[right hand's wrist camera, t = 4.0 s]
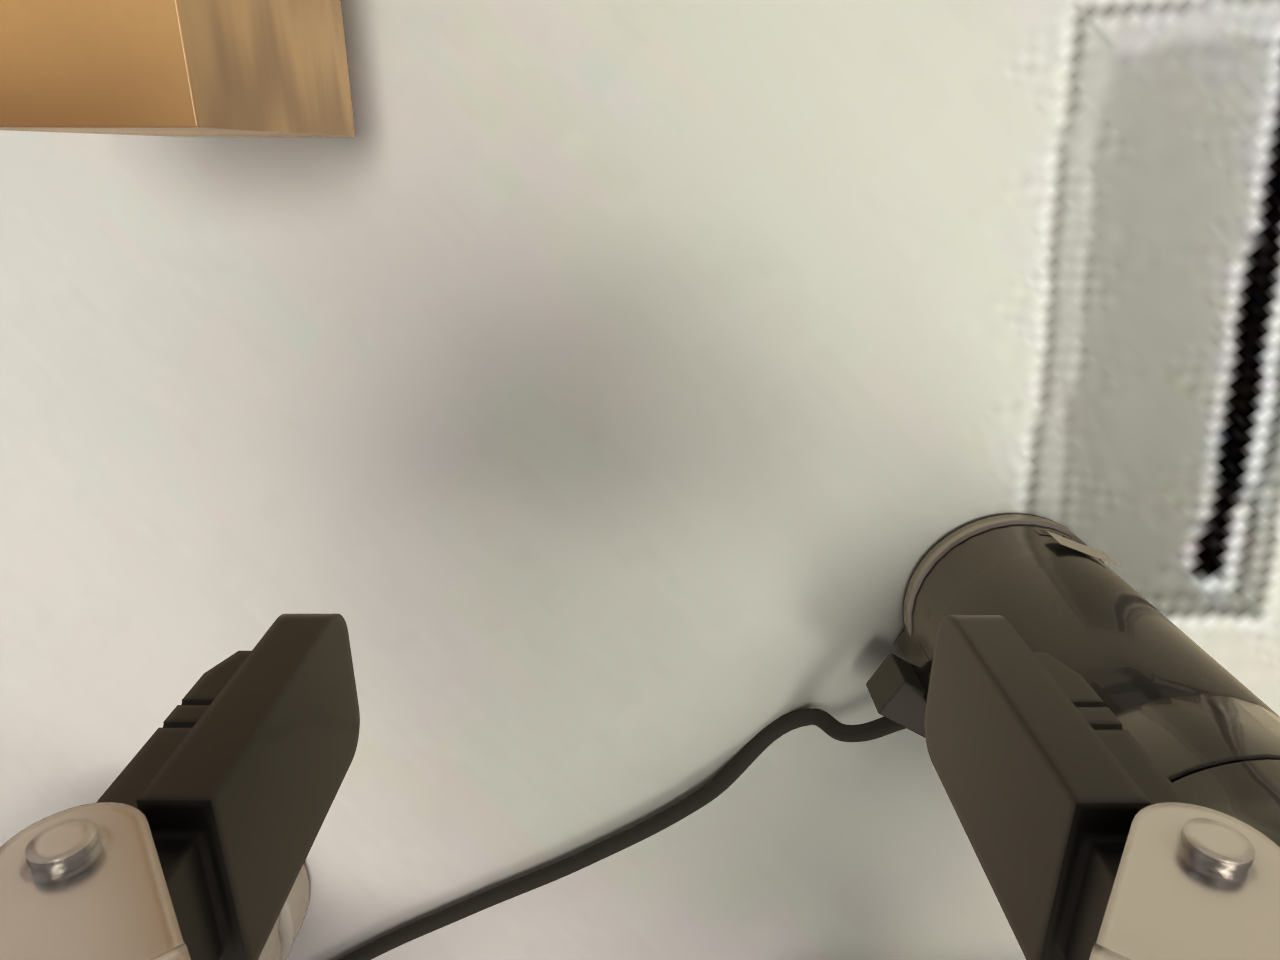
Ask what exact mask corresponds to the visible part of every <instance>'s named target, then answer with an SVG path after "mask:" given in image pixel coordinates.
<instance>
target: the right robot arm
mask: <svg viewBox="0 0 1280 960" xmlns="http://www.w3.org/2000/svg"><path fill="white" fill-rule="evenodd" d="M1101 559H1102V560H1104V561H1107V562H1110V563H1112V564H1115V565H1118V564H1117V563H1116V562H1115V561H1113V560H1112V559H1111V558H1110V557H1109V556H1108V555H1106V554H1105V553H1104V552H1101V551H1099V550H1096V549H1094V548H1091V547H1088V546H1087V545H1086V544H1085V543H1084V542H1082V541H1081V540H1080V539H1079V538H1078V537H1077V536H1075V535H1074V534H1073V533H1072V532H1071V531H1069V530H1068V529H1066V528H1065V527H1063V526H1061V525H1059V524H1058V523H1056V522H1053V521H1051V520H1048V519H1045V518H1041V517H1037V516H1032V515H1022V514H1008V515H999V516H993V517H989V518H985V519H981V520H978V521H976V522H973V523H970V524H968V525H966V526H964V527H962V528H960V529H958V530H956V531H955V532H953V533H951V534H950V535H948V536H947V537H946V538H944V539H943V540H942V541H940V542H939V543H938V544H937V545H936V546H935V547H934V548H933V549H932V550H931V551H930V552H929V553H928V554H927V555H926V556H925V557H924V559H923V560H922V561H921V563H920V564H919V565H918V567H917V569H916V570H915V572H914V574H913V576H912V578H911V580H910V582H909V585H908V588H907V591H906V596H905V601H904V624H905V628H904V630H903V632H902V634H901V635H900V636H899V638H898V639H897V640H896V642H895V646H896V648H897V650H898V651H899V653H900V655H901V657H902V659H901V658H899V657H897V656H895V655H893V654H889V656H888V657H887V658H886V659H885V661H884V662H883V663H882V664H881V666H880V667H879V668H878V669H877V671H876V672H875V673H874V674H873V676H872V677H871V678H870V679H869V681H868V682H867V683H866V685H867V688H868V690H869V692H870V694H871V697H872V699H873V701H874V704H875V706H876V708H877V711H878V713H879V714H881V715H882V716H884V717H882V718H879V719H877V720H874V721H871V722H868V723H864V724H859V725H845V724H842V723H840V722H838V721H837V720H836V719H835V718H833V717H832V716H831V715H830V714H828V713H827V712H825V711H823V710H820V709H816V708H812V709H804V710H799V711H794V712H792V713H789V714H786V715H784V716H782V717H780V718H778V719H777V720H775V721H774V722H772V723H771V724H770V725H768V726H767V727H766V728H764V729H763V730H762V731H761V732H760V733H759V734H757V735H756V736H755V737H754V738H753V739H752V740H751V741H750V742H749V743H748V744H747V745H746V746H745V747H744V748H743V749H742V750H741V751H740V752H739V753H738V754H737V755H736V757H735V758H734V759H733V760H732V761H731V762H730V763H729V764H728V765H727V766H726V767H725V768H724V769H723V770H722V771H721V772H720V773H719V774H718V775H717V776H716V777H715V778H713V779H712V780H711V781H710V782H709V783H707V784H706V785H705V786H703V787H702V788H700V789H699V790H698V791H696V792H694V793H693V794H691V795H690V796H688V797H686V798H685V799H683V800H681V801H680V802H678V803H676V804H675V805H673V806H671V807H669V808H668V809H666V810H664V811H662V812H660V813H659V814H657V815H655V816H653V817H651V818H649V819H647V820H645V821H643V822H642V823H640V824H638V825H636V826H634V827H632V828H630V829H627V830H625V831H623V832H621V833H619V834H617V835H615V836H613V837H611V838H609V839H607V840H604V841H602V842H600V843H598V844H596V845H594V846H592V847H590V848H587V849H585V850H583V851H581V852H579V853H577V854H575V855H572V856H570V857H568V858H566V859H564V860H561V861H559V862H557V863H554V864H552V865H550V866H547V867H545V868H543V869H540V870H538V871H535V872H533V873H531V874H528V875H526V876H523V877H521V878H518V879H516V880H513V881H511V882H508V883H506V884H503V885H501V886H498V887H496V888H494V889H491V890H489V891H486V892H484V893H482V894H479V895H477V896H475V897H472V898H470V899H468V900H465V901H463V902H461V903H458V904H456V905H454V906H452V907H449V908H447V909H445V910H442V911H440V912H437V913H435V914H433V915H430V916H428V917H426V918H423V919H421V920H419V921H416V922H414V923H412V924H410V925H407V926H405V927H403V928H401V929H398V930H396V931H394V932H392V933H390V934H388V935H386V936H384V937H381V938H379V939H377V940H375V941H373V942H371V943H369V944H367V945H365V946H364V947H362V948H360V949H358V950H356V951H354V952H352V953H350V954H349V955H347V956H345V957H343V958H341V959H340V960H371V959H373V958H375V957H377V956H379V955H381V954H383V953H385V952H387V951H389V950H391V949H394V948H396V947H398V946H400V945H402V944H404V943H407V942H409V941H411V940H413V939H416V938H418V937H420V936H423V935H425V934H427V933H430V932H432V931H434V930H437V929H439V928H442V927H444V926H446V925H449V924H451V923H453V922H456V921H458V920H460V919H463V918H465V917H467V916H470V915H472V914H474V913H477V912H479V911H481V910H484V909H486V908H488V907H491V906H493V905H496V904H498V903H501V902H503V901H505V900H508V899H510V898H513V897H515V896H518V895H520V894H523V893H525V892H528V891H530V890H533V889H535V888H538V887H540V886H543V885H545V884H548V883H550V882H553V881H555V880H557V879H560V878H562V877H564V876H567V875H569V874H571V873H573V872H576V871H578V870H580V869H582V868H584V867H587V866H589V865H591V864H593V863H595V862H597V861H599V860H602V859H604V858H606V857H608V856H610V855H612V854H614V853H617V852H619V851H621V850H623V849H625V848H627V847H629V846H631V845H633V844H635V843H638V842H640V841H642V840H644V839H646V838H648V837H650V836H652V835H654V834H656V833H657V832H659V831H661V830H663V829H665V828H667V827H669V826H670V825H672V824H674V823H676V822H678V821H679V820H681V819H683V818H685V817H686V816H688V815H690V814H691V813H693V812H695V811H696V810H698V809H700V808H701V807H703V806H705V805H706V804H708V803H709V802H710V801H712V800H713V799H715V798H716V797H718V796H719V795H720V794H721V793H722V792H724V791H725V790H726V789H727V788H728V787H729V786H730V785H731V784H732V783H733V782H734V781H735V780H736V779H737V778H738V777H739V776H740V775H741V774H742V773H743V772H744V771H745V770H746V769H747V768H748V767H749V766H750V765H751V763H752V762H753V761H754V760H755V759H756V758H757V757H758V756H759V755H760V754H761V753H762V752H763V751H764V750H765V749H766V748H767V747H768V746H769V745H770V744H771V743H773V742H774V741H775V740H776V739H778V738H779V737H781V736H782V735H783V734H785V733H787V732H789V731H791V730H793V729H796V728H799V727H802V726H807V725H816V726H818V727H819V728H821V729H822V730H823V731H824V732H825V733H827V734H828V735H829V736H831V737H832V738H834V739H836V740H839V741H843V742H862V741H868V740H873V739H877V738H880V737H883V736H885V735H888V734H891V733H894V732H896V731H899V730H902V729H906V728H908V729H910V730H911V731H913V732H915V733H917V734H919V735H921V736H923V737H925V738H926V743H927V748H928V752H929V755H930V758H931V761H932V763H933V765H934V767H935V769H936V771H937V773H938V776H939V778H940V780H941V782H942V784H943V786H944V788H945V790H946V792H947V794H948V796H949V799H950V801H951V803H952V805H953V807H954V809H955V811H956V813H957V815H958V817H959V819H960V822H961V824H962V826H963V828H964V830H965V832H966V834H967V836H968V838H969V840H970V842H971V845H972V847H973V849H974V851H975V853H976V855H977V857H978V859H979V861H980V863H981V865H982V868H983V870H984V872H985V874H986V876H987V878H988V880H989V882H990V884H991V886H992V888H993V891H994V893H995V895H996V897H997V899H998V901H999V903H1000V905H1001V907H1002V909H1003V911H1004V914H1005V916H1006V918H1007V920H1008V922H1009V924H1010V926H1011V928H1012V930H1013V932H1014V934H1015V937H1016V939H1017V941H1018V943H1019V945H1020V947H1021V949H1022V951H1023V953H1024V955H1025V957H1026V960H1280V717H1279V716H1278V715H1277V714H1276V713H1275V712H1274V711H1272V710H1271V709H1270V708H1269V707H1268V706H1267V705H1266V704H1264V703H1263V702H1262V701H1261V700H1260V699H1259V698H1258V697H1256V696H1255V695H1254V694H1253V693H1252V692H1251V691H1250V690H1248V689H1247V688H1246V687H1245V686H1244V685H1243V684H1241V683H1240V682H1239V681H1238V680H1237V679H1236V678H1235V677H1233V676H1232V675H1231V674H1230V673H1229V672H1228V671H1227V670H1225V669H1224V668H1223V667H1222V666H1221V665H1220V664H1219V663H1217V662H1216V661H1215V660H1214V659H1213V658H1212V657H1211V656H1209V655H1208V654H1207V653H1206V652H1205V651H1204V650H1203V649H1201V648H1200V647H1199V646H1198V645H1197V644H1196V643H1195V642H1193V641H1192V640H1191V639H1190V638H1189V637H1188V636H1187V635H1185V634H1184V633H1183V632H1182V631H1181V630H1180V629H1179V628H1177V627H1176V626H1175V625H1174V624H1173V623H1172V622H1171V621H1169V620H1168V619H1167V618H1166V617H1165V616H1164V615H1163V614H1161V613H1160V612H1159V611H1158V610H1157V609H1156V608H1155V607H1153V606H1152V605H1151V604H1150V603H1149V602H1148V601H1147V600H1145V599H1144V598H1143V597H1142V596H1141V595H1140V594H1139V593H1137V592H1136V591H1135V590H1134V589H1133V588H1132V587H1131V586H1129V585H1128V584H1127V583H1126V582H1125V581H1124V580H1123V579H1121V578H1120V577H1119V576H1118V575H1117V574H1116V573H1115V572H1113V571H1112V570H1111V569H1110V568H1109V567H1108V566H1106V565H1105V564H1104V562H1103V561H1101ZM1118 566H1119V565H1118ZM1120 567H1121V566H1120ZM359 726H360V714H359V705H358V698H357V691H356V684H355V677H354V670H353V663H352V656H351V649H350V642H349V635H348V629H347V625H346V622H345V620H344V618H343V617H342V616H341V615H340V614H282V615H281V616H279V617H278V618H277V619H276V621H275V622H274V623H273V624H272V626H271V627H270V628H269V630H268V631H267V632H266V633H265V635H264V636H263V637H262V639H261V640H260V641H259V643H258V644H257V645H256V646H255V648H254V649H253V650H252V651H238V652H236V653H235V654H233V655H232V656H230V657H229V658H227V659H226V660H224V661H223V662H221V663H220V664H218V665H216V666H215V667H213V668H212V669H210V670H209V671H207V672H206V673H204V674H203V675H202V677H201V678H200V679H199V680H198V681H197V683H196V684H195V685H194V686H193V687H192V689H191V690H190V691H189V692H188V693H187V695H186V696H185V697H184V698H183V699H182V705H177V707H176V708H175V709H174V710H173V711H172V713H171V714H170V715H169V716H168V717H167V719H166V720H165V721H164V726H163V728H158V729H157V731H156V732H155V733H154V734H153V735H152V737H151V738H150V739H149V740H148V741H147V743H146V744H145V745H144V746H143V747H142V749H141V750H140V751H139V752H138V753H137V755H136V756H135V757H134V758H133V759H132V761H131V762H130V763H129V764H128V765H127V767H126V768H125V769H124V770H123V771H122V773H121V774H120V775H119V776H118V777H117V779H116V780H115V781H114V782H113V783H112V784H111V786H110V787H109V788H108V789H107V790H106V792H105V793H104V794H103V795H102V796H101V798H100V799H99V800H98V801H97V802H96V803H93V804H86V805H82V806H77V807H73V808H70V809H67V810H64V811H61V812H58V813H56V814H53V815H51V816H48V817H46V818H44V819H42V820H40V821H38V822H36V823H34V824H32V825H30V826H29V827H27V828H26V829H24V830H22V831H21V832H19V833H18V834H16V835H15V836H14V837H12V838H11V839H10V840H8V841H7V842H6V843H5V844H3V845H2V846H1V847H0V960H258V959H259V957H260V955H261V953H262V950H263V948H264V946H265V944H266V942H267V940H268V938H269V936H270V933H271V931H272V929H273V927H274V925H275V923H276V921H277V919H278V917H279V914H280V912H281V910H282V908H283V906H284V904H285V902H286V900H287V897H288V895H289V893H290V891H291V889H292V887H293V885H294V883H295V881H296V878H297V876H298V874H299V872H300V870H301V868H302V866H303V864H304V861H305V859H306V857H307V855H308V853H309V851H310V849H311V847H312V845H313V842H314V840H315V838H316V836H317V834H318V832H319V830H320V828H321V826H322V823H323V821H324V819H325V817H326V815H327V813H328V811H329V809H330V806H331V804H332V802H333V800H334V798H335V796H336V794H337V792H338V790H339V787H340V785H341V783H342V781H343V779H344V777H345V775H346V773H347V770H348V768H349V766H350V764H351V762H352V760H353V757H354V754H355V751H356V747H357V743H358V736H359Z"/></svg>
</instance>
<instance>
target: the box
mask: <svg viewBox="0 0 1280 960" xmlns="http://www.w3.org/2000/svg"><path fill="white" fill-rule="evenodd" d="M0 130H11V131H39V132H67V133H95V134H123V135H151V136H179V137H354V136H355V127H354V118H353V109H352V100H351V91H350V82H349V73H348V63H347V54H346V45H345V36H344V27H343V18H342V9H341V0H0Z"/></svg>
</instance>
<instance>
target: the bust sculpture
mask: <svg viewBox="0 0 1280 960" xmlns="http://www.w3.org/2000/svg"><path fill="white" fill-rule="evenodd" d="M309 898H310V886H309V879H308V875H307V872H306V869H305V866H304V864H303V866H302V868H301V870H300V872H299V874H298V876H297V878H296V881H295V883H294V885H293V887H292V889H291V891H290V893H289V895H288V897H287V900H286V902H285V904H284V906H283V908H282V910H281V912H280V914H279V917H278V919H277V921H276V923H275V925H274V927H273V929H272V931H271V933H270V936H269V938H268V940H267V942H266V944H265V946H264V948H263V950H262V953H261V955H260V957H259V959H258V960H286V958H287V956H288V954H289V952H290V949H291V947H292V945H293V942H294V940H295V938H296V936H297V933H298V931H299V929H300V926H301V924H302V922H303V920H304V917H305V915H306V912H307V909H308V905H309Z"/></svg>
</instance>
